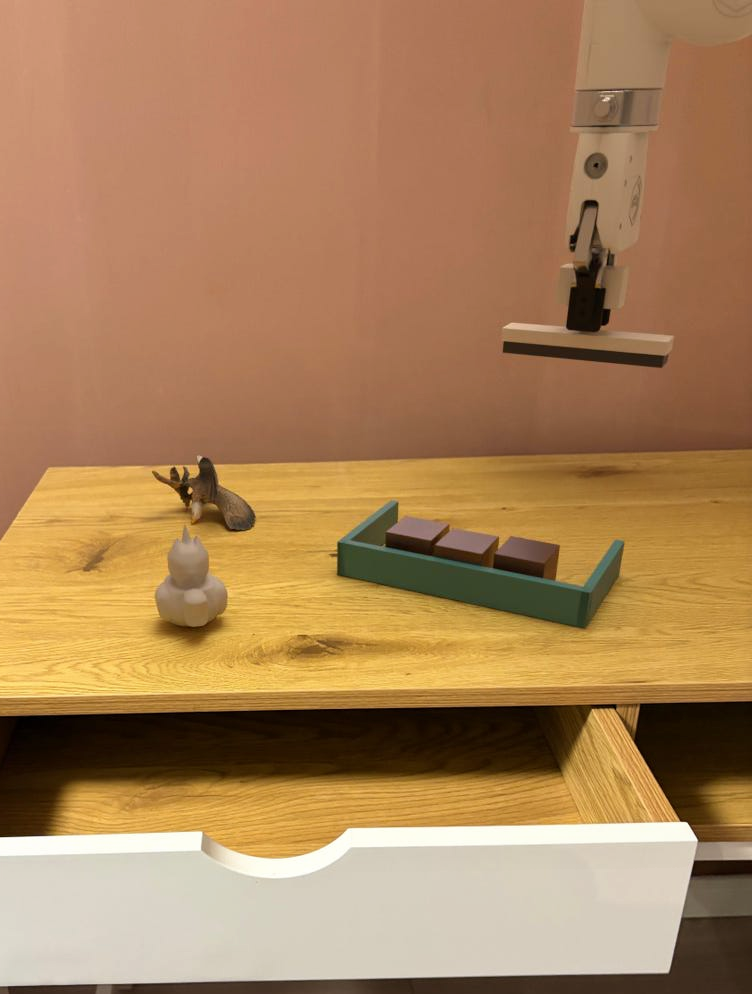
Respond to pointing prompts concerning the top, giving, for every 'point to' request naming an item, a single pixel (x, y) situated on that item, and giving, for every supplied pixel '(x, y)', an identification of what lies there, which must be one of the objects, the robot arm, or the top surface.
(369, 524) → the corral
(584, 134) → the robot arm
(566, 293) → the brush
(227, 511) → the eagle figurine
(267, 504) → the top surface
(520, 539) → the block
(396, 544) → the block
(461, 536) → the block
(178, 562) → the grey rounded lumpy piece
